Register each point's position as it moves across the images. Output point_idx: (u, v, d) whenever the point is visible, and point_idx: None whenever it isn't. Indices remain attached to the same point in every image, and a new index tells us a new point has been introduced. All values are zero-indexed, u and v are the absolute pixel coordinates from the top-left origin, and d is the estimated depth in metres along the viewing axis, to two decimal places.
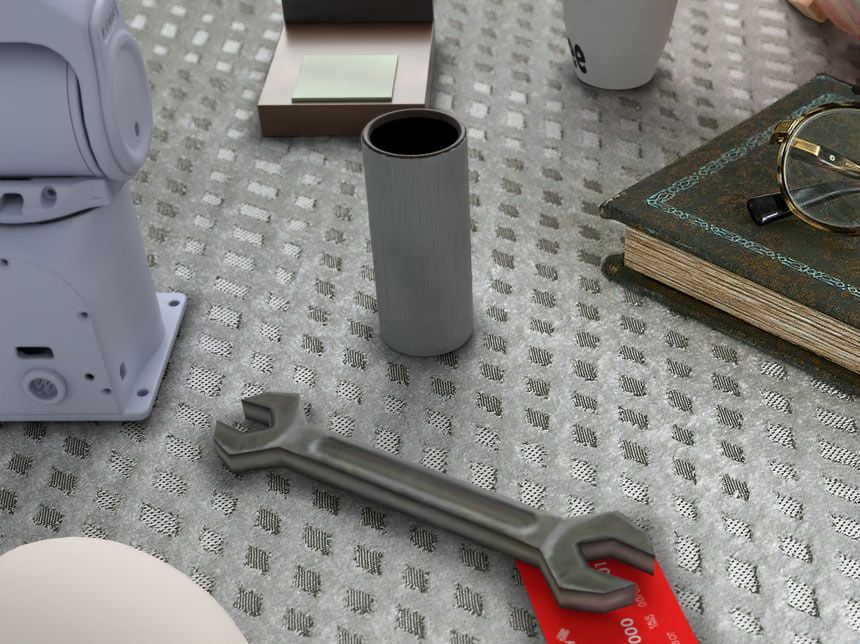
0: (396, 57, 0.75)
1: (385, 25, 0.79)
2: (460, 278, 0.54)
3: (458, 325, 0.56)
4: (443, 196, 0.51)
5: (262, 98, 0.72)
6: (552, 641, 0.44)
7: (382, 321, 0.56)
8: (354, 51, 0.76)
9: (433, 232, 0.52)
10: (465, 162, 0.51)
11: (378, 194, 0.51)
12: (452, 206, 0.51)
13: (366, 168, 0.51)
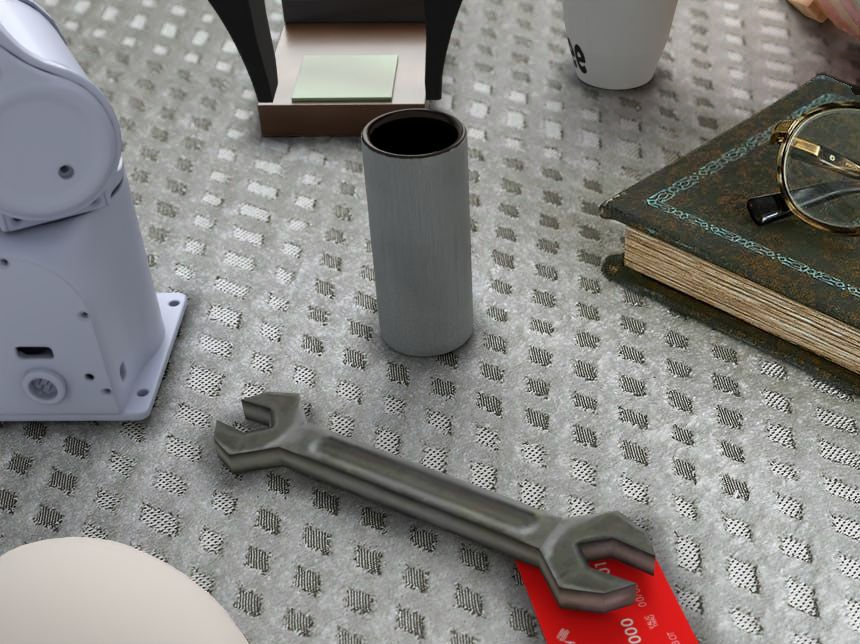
0: (396, 57, 0.75)
1: (385, 25, 0.79)
2: (460, 278, 0.54)
3: (458, 325, 0.56)
4: (443, 196, 0.51)
5: None
6: (552, 641, 0.44)
7: (382, 321, 0.56)
8: (354, 51, 0.76)
9: (433, 232, 0.52)
10: (465, 162, 0.51)
11: (378, 194, 0.51)
12: (452, 206, 0.51)
13: (366, 168, 0.51)
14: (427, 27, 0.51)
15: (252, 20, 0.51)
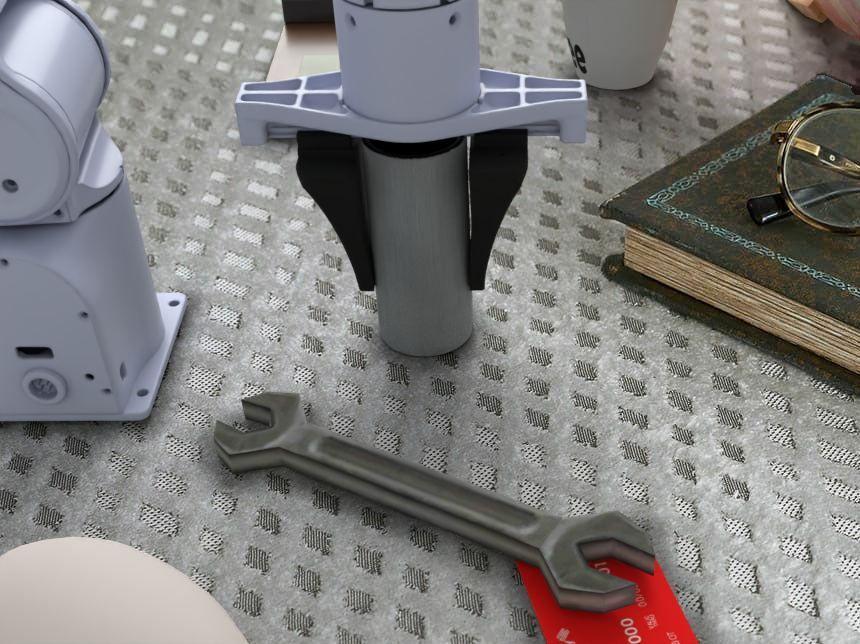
0: None
1: None
2: (460, 278, 0.54)
3: (458, 325, 0.56)
4: (443, 196, 0.51)
5: None
6: (552, 641, 0.44)
7: (382, 321, 0.56)
8: None
9: (433, 232, 0.52)
10: (465, 162, 0.51)
11: (378, 194, 0.51)
12: (452, 206, 0.51)
13: (366, 168, 0.51)
14: (473, 229, 0.52)
15: (360, 222, 0.52)
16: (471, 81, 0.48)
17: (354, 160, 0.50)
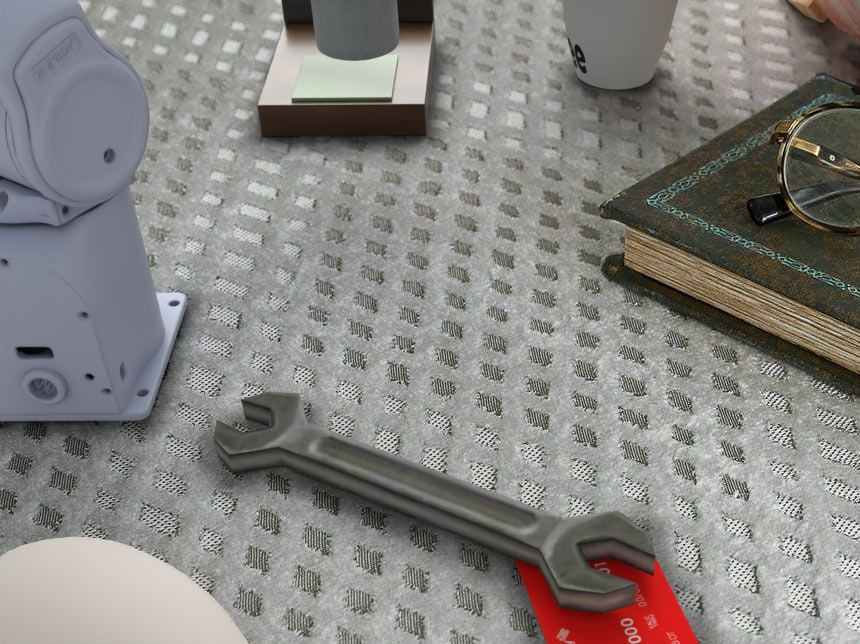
0: (396, 57, 0.75)
1: None
2: None
3: (383, 31, 0.63)
4: None
5: (262, 98, 0.72)
6: (552, 640, 0.44)
7: (316, 29, 0.63)
8: None
9: None
10: None
11: None
12: None
13: None
14: None
15: None
16: None
17: None
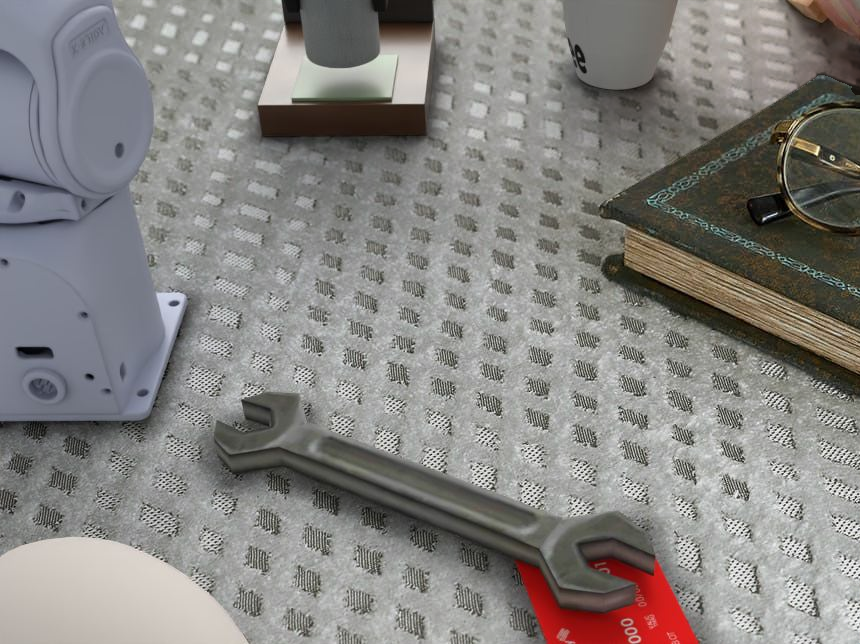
0: (396, 57, 0.75)
1: (385, 25, 0.79)
2: None
3: (366, 41, 0.70)
4: None
5: (262, 98, 0.72)
6: (552, 640, 0.44)
7: (306, 40, 0.71)
8: None
9: None
10: None
11: None
12: None
13: None
14: None
15: None
16: None
17: None
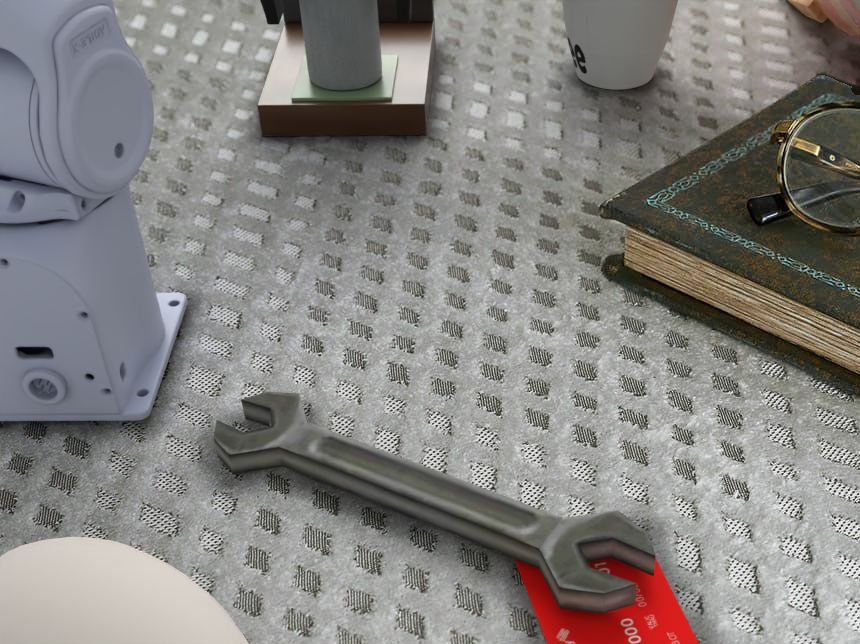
0: (396, 57, 0.75)
1: (385, 25, 0.79)
2: (367, 22, 0.70)
3: (368, 64, 0.71)
4: None
5: (262, 98, 0.72)
6: (552, 641, 0.44)
7: (309, 63, 0.72)
8: None
9: None
10: None
11: None
12: None
13: None
14: None
15: None
16: None
17: None
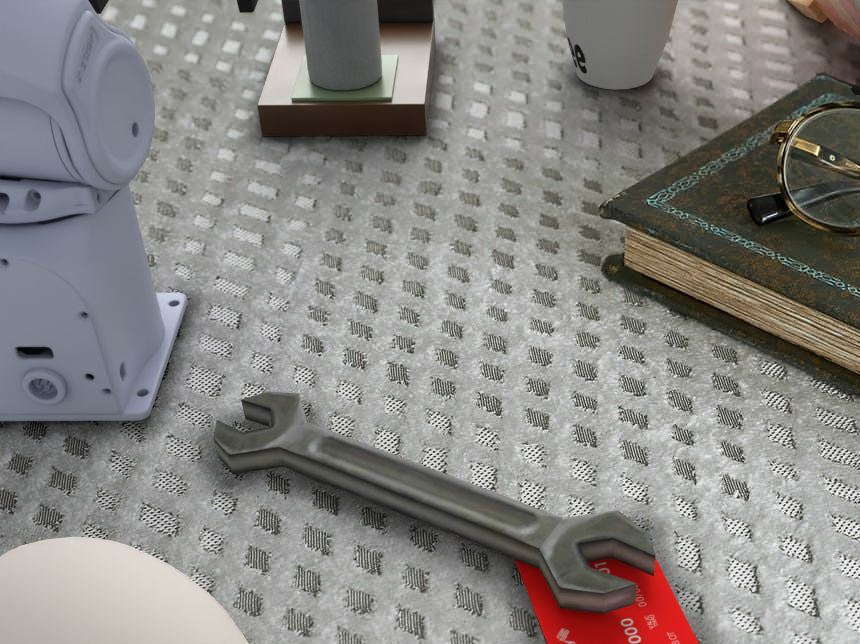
0: (396, 57, 0.75)
1: (385, 25, 0.79)
2: (367, 22, 0.70)
3: (368, 64, 0.71)
4: None
5: (262, 98, 0.72)
6: (552, 641, 0.44)
7: (309, 63, 0.72)
8: None
9: None
10: None
11: None
12: None
13: None
14: None
15: None
16: None
17: None
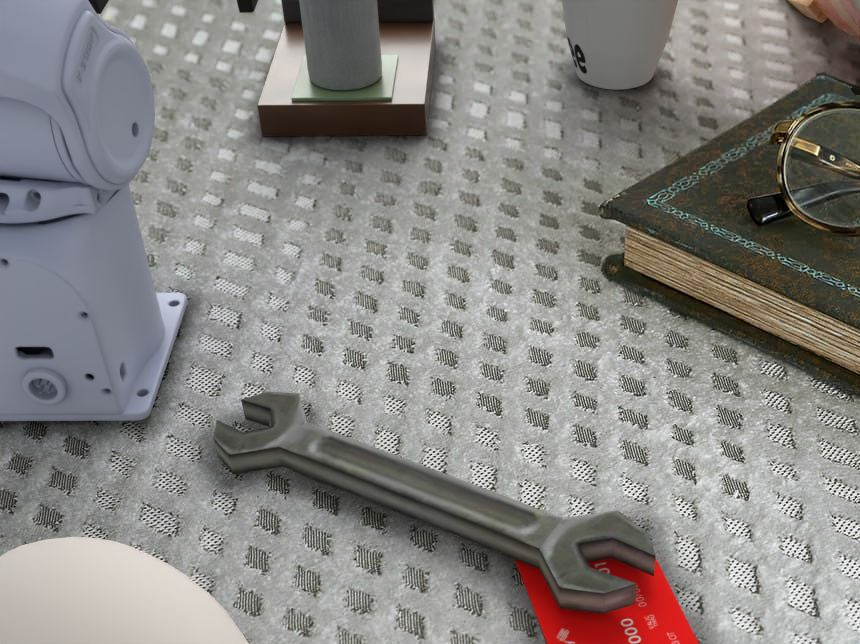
0: (396, 57, 0.75)
1: (385, 25, 0.79)
2: (367, 22, 0.70)
3: (368, 64, 0.71)
4: None
5: (262, 98, 0.72)
6: (552, 641, 0.44)
7: (309, 63, 0.72)
8: None
9: None
10: None
11: None
12: None
13: None
14: None
15: None
16: None
17: None
